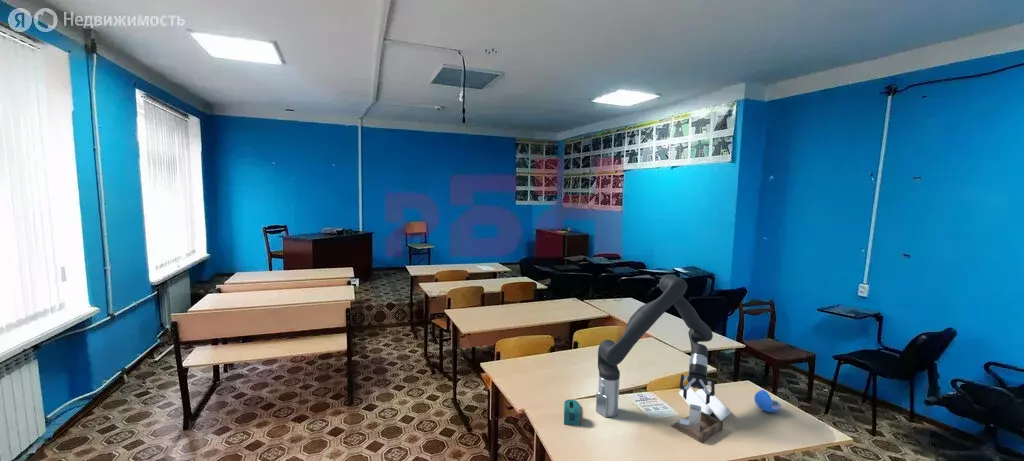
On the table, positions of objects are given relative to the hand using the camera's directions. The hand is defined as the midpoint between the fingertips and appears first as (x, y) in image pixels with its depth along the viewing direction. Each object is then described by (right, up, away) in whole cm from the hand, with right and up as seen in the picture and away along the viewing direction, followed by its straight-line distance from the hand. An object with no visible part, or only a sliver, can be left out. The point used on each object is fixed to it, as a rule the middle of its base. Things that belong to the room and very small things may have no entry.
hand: (696, 401), depth 176 cm
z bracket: (+11, -10, +17) cm, 22 cm away
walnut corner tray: (-1, -11, -2) cm, 11 cm away
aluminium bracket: (-4, -10, -2) cm, 11 cm away
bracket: (-54, -9, +7) cm, 55 cm away
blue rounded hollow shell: (+40, -10, +14) cm, 44 cm away
